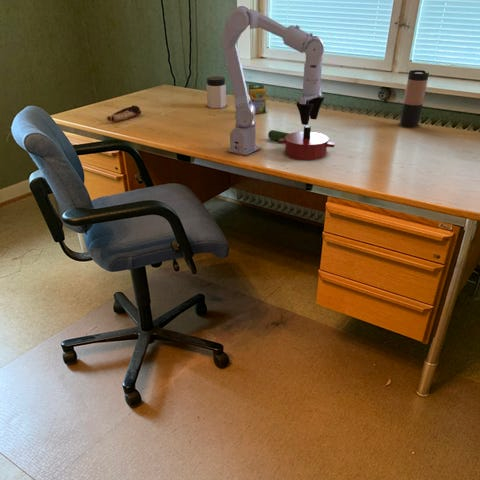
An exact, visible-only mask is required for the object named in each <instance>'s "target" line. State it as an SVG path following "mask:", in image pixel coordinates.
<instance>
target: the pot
mask: <svg viewBox="0 0 480 480" xmlns="http://www.w3.org/2000/svg"><path fill="white" fill-rule="evenodd" d="M277 143H278V144H284V146H285V147H284V152H285V155H286V156H287V157H289V158H291V159H294V160H298V161H315V160H320V159H322V158H324V157H325V156H327V155H326V154H327V150H328V149H327V148H334V147H335V145H336V142H334V141H328V142H327V143H325V144H323V145H319V146H298V145H293V144H290V143H288V142H286V141H285V139H281V138H280V139H279V140H278V141H277Z"/></svg>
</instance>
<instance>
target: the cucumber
mask: <svg viewBox="0 0 480 480" xmlns="http://www.w3.org/2000/svg"><path fill="white" fill-rule="evenodd" d="M290 133H291V132H290ZM290 133H289V132H286V131H285V132H284V131H281V130H280V131H279V130H274V129H271V130H269V131H268V134H267V136H268V138H269V139H270V140H272V141H277V142H278V140H279V139H280V138H281V139H285V136H286V135H288V134H290Z"/></svg>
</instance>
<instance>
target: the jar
mask: <svg viewBox="0 0 480 480" xmlns="http://www.w3.org/2000/svg"><path fill="white" fill-rule="evenodd" d="M205 87H206V105H207V107H209V108H210V109H222V108H225V107H227V85H226V78H225V77H224V76H219V75H218V76H217V75H216V76H215V75H214V76H208V77H207V78H206V86H205Z"/></svg>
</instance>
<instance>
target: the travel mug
mask: <svg viewBox="0 0 480 480" xmlns="http://www.w3.org/2000/svg"><path fill="white" fill-rule="evenodd" d="M407 75H408V76H407V81H406V86H405V92H404V96H403V101H402V107H401V114H400V121H399V126H401V127H403V128H412V129H413V128H416V127H418V125H419V122H420V118H421V114H422V109H423V106H424V100H425V96H426V95H425V94H426V89H427V85H428V80H429V76H430V72H426V71H425V70H422V69H413V70H409V71H408V74H407Z"/></svg>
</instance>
